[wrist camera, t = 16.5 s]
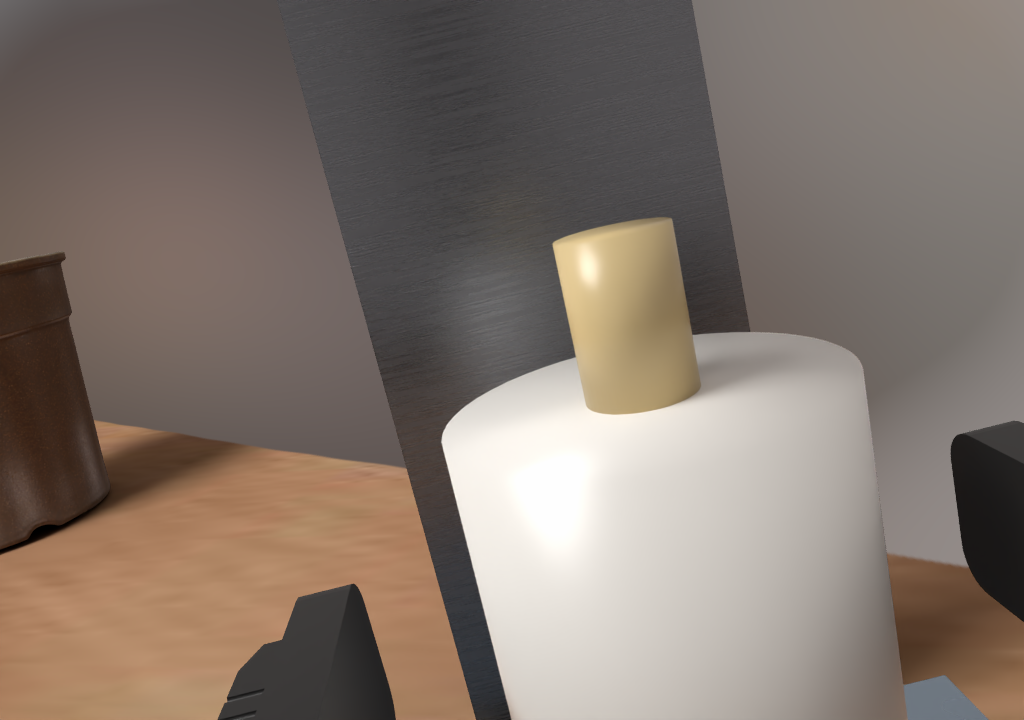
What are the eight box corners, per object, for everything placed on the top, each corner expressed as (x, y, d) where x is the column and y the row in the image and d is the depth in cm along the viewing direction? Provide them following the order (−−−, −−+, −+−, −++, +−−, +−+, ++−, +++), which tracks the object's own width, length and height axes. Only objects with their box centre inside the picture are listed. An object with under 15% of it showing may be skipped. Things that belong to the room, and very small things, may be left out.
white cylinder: (925, 1321, 10) (762, 252, 7) (538, 1125, 12) (308, 307, 10) (970, 938, 14) (880, 164, 11) (669, 854, 16) (535, 220, 14)
